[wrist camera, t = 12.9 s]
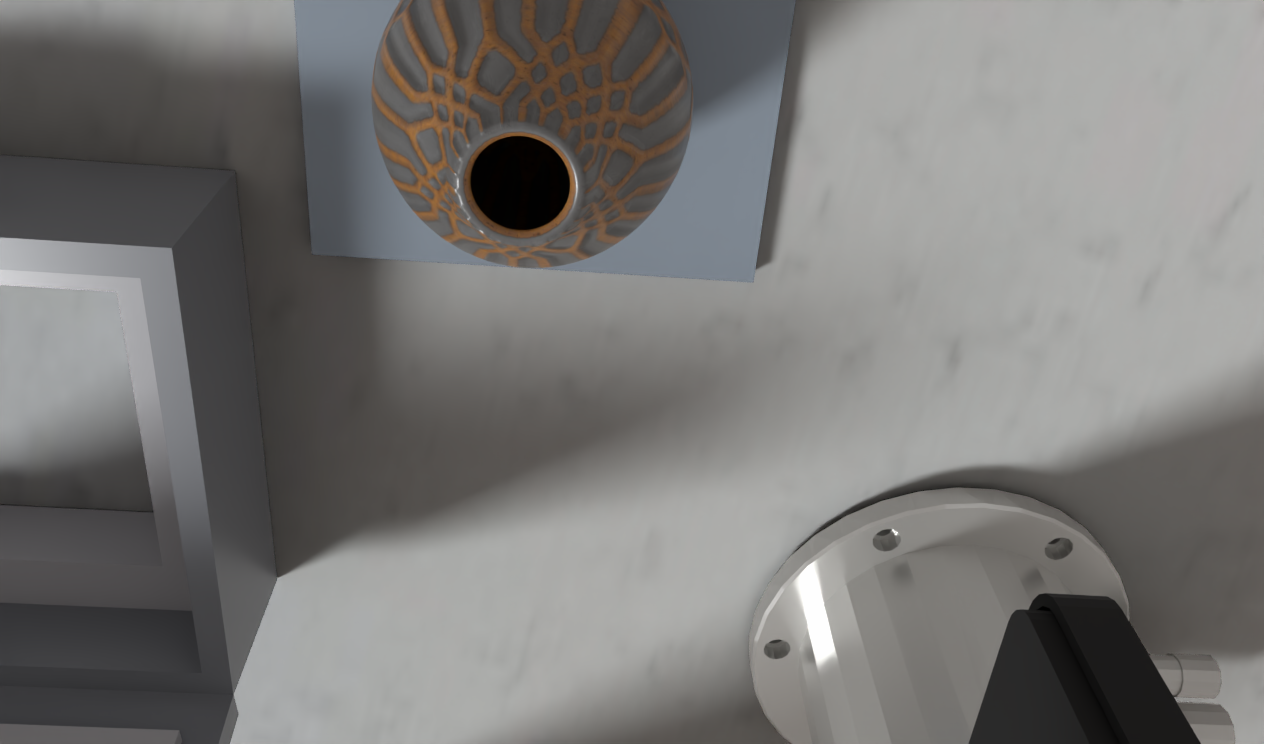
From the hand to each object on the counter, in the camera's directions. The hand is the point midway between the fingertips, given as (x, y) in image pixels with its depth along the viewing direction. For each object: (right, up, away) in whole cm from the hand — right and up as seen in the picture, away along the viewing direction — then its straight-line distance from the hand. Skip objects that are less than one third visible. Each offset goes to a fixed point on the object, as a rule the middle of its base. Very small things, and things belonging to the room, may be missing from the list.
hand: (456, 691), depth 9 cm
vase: (-1, +11, +18) cm, 21 cm away
